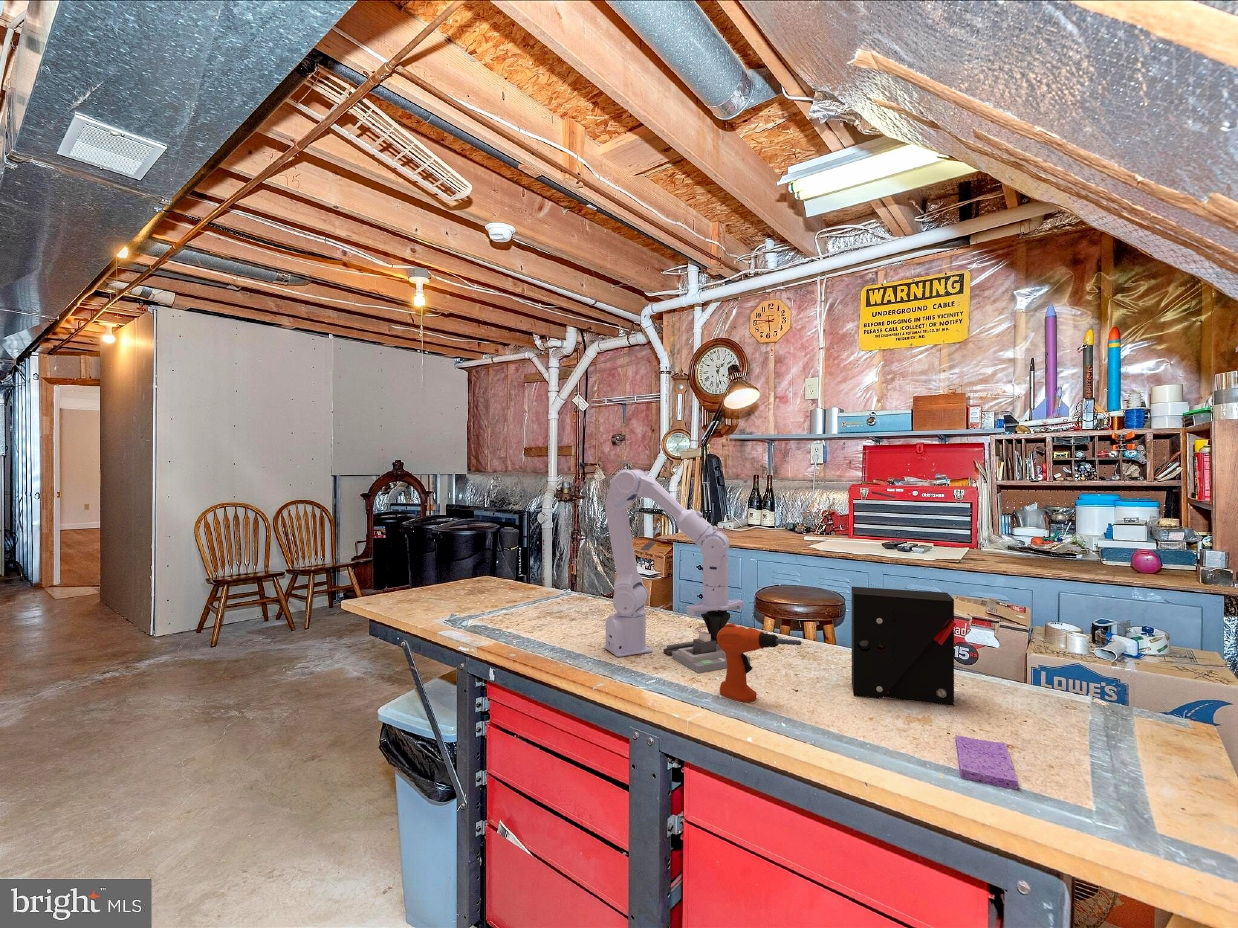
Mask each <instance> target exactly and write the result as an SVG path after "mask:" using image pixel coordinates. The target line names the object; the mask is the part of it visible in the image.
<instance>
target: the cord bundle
mask: <svg viewBox="0 0 1238 928" xmlns="http://www.w3.org/2000/svg"><path fill="white" fill-rule="evenodd" d="M688 647H693V640H692V641H686V642H680V643H679V642H678V643H674V644H668V645H666V648H663V653H664V654H665V655H667V656H672V651H678V649H682V648H688Z"/></svg>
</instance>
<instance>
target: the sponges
mask: <svg viewBox="0 0 1238 928" xmlns="http://www.w3.org/2000/svg"><path fill="white" fill-rule="evenodd" d="M954 739H955V747H956V753H957V755H956V756H957V760H958V761H957V762H958V763H957V764H958V773H959V778H960V779H963V780H964V779H965V780H969V781H974V782H979V783H983V784H988V785H993V786H998V787H1003V788H1008V789H1013V790H1018V788H1019V787H1018V783H1019V780H1018V778H1017V775H1016V772H1015V769H1014V765H1013V762H1012V759H1011V756H1010V753H1009V749H1008V746H1007V743H1006V742H1001V741H1000V742H999V741H998V742H997V741H994V740H987V739H986V740H985V739H978V738H974V737H973V738H972V737H969V736H968V737H967V736H963V735H958V734H956V735H955V738H954Z"/></svg>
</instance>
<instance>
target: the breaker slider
mask: <svg viewBox="0 0 1238 928" xmlns="http://www.w3.org/2000/svg"><path fill="white" fill-rule="evenodd" d="M692 641H693V654H694V655H698V654H704V653H710V652H716V641H715V640H713V639H711V634H709V632H706V631H701V632H698V637H697V638H693V640H692Z"/></svg>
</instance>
